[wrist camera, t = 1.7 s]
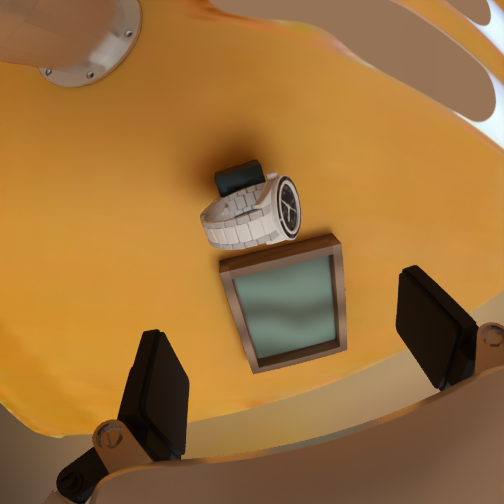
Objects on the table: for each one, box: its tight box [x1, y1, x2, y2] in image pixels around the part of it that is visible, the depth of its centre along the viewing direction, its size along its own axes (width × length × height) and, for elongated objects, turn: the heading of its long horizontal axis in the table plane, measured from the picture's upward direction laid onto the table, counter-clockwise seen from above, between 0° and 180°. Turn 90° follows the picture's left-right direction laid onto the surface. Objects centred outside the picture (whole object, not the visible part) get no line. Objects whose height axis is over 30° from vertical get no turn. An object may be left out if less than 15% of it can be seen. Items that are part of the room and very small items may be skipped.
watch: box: [200, 160, 301, 250], centre depth 25 cm, size 6×8×11 cm
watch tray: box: [220, 234, 347, 374], centre depth 35 cm, size 16×13×3 cm
